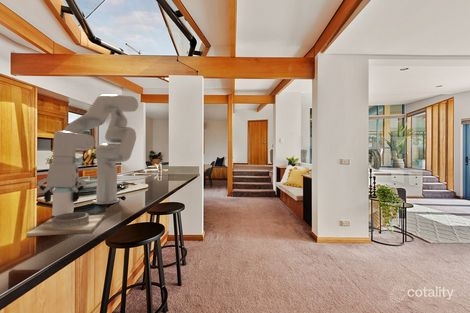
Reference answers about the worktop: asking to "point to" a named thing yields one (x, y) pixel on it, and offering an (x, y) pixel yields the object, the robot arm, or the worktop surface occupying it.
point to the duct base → (68, 224)
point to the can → (62, 201)
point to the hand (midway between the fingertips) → (61, 201)
